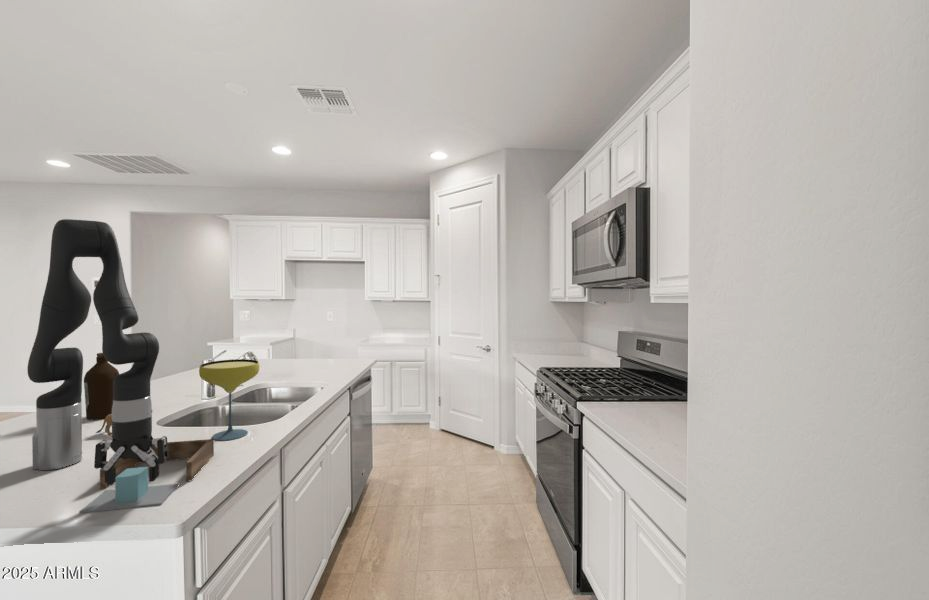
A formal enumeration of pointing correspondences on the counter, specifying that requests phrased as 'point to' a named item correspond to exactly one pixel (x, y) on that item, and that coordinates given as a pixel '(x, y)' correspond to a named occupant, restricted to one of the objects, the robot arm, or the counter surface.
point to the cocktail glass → (229, 385)
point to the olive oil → (99, 389)
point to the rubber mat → (150, 498)
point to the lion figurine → (109, 424)
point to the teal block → (131, 484)
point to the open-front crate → (173, 457)
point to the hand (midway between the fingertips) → (132, 482)
